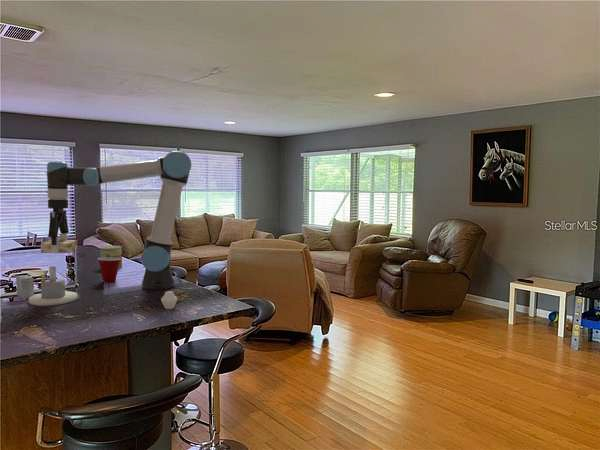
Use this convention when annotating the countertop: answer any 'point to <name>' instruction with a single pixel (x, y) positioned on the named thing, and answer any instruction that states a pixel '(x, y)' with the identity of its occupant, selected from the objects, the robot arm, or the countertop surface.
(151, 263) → the robot arm
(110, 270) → the plastic cup
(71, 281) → the countertop surface
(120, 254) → the canned food
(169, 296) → the muffin
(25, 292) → the medicine box
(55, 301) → the post stand
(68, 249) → the slotted arch block
